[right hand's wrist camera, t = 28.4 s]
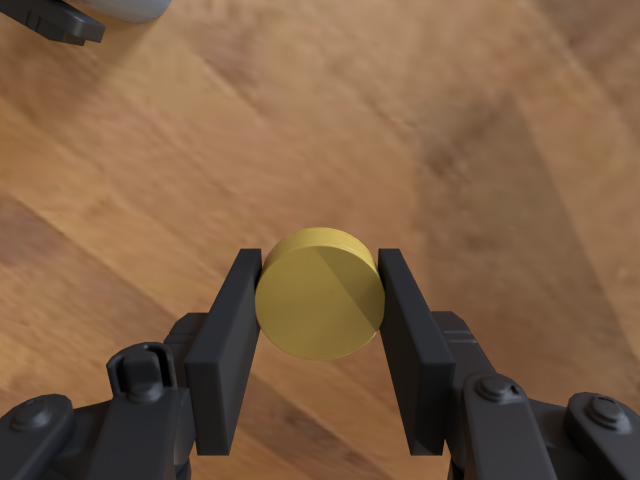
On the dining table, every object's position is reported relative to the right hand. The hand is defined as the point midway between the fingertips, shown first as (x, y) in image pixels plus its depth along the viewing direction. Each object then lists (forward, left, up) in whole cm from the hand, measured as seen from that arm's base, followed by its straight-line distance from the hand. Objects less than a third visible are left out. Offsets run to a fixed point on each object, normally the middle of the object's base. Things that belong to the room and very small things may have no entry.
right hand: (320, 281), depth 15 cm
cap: (0, 0, +2) cm, 2 cm away
